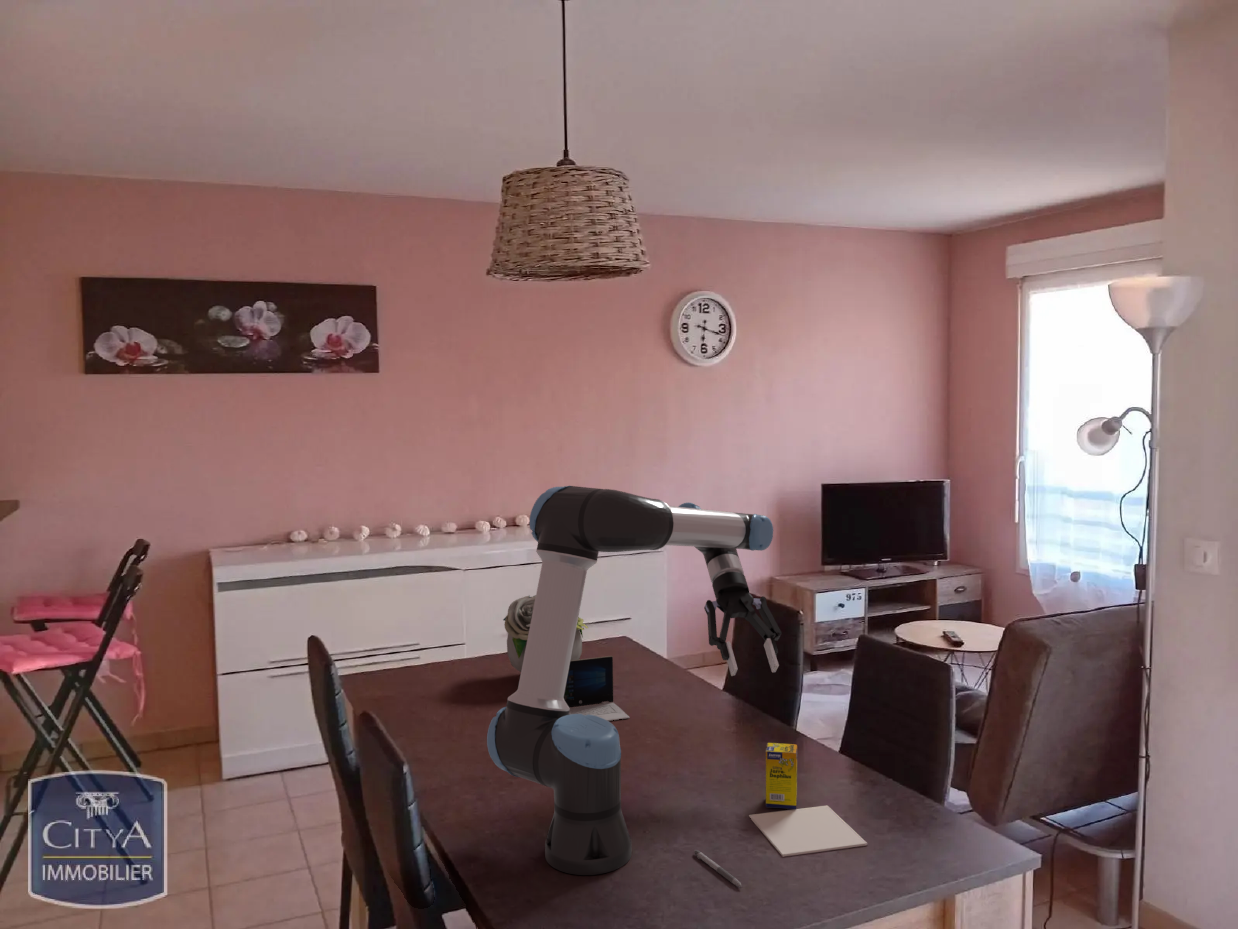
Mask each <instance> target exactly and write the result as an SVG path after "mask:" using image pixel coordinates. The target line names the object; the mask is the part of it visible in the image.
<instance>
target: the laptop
mask: <svg viewBox="0 0 1238 929" xmlns="http://www.w3.org/2000/svg"><path fill="white" fill-rule="evenodd" d="M564 700H565V702H566V703H567V705H568V707H569V708H570V710H569V715H570V714H582V715H594V716H598V717H600V718H603V719H605V720H607V721H609V722H613V720H614V721H620V720H619V719H622V720H628V719H630V716H629V715H628V714H627V713H626V711H624V710H623V709H622V708H621V707H619V705H617V704H616V703H615V702H614V657H613V656H612V655H607V656H600V657H599V656H597V657H591V658H589V657H587V658H580V659H579V660H571V661H570V665H569V670H568V676H567V681H566V687H565V692H564Z"/></svg>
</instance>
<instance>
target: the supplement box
mask: <svg viewBox="0 0 1238 929" xmlns="http://www.w3.org/2000/svg"><path fill="white" fill-rule="evenodd" d="M797 801H798V744H794V743H793V744H792V743H779V742H778V743H777V742H767V743H766V748H765V808H773V809H785V810H786V809H787V810H794V809H797Z"/></svg>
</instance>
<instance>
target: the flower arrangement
mask: <svg viewBox="0 0 1238 929" xmlns="http://www.w3.org/2000/svg"><path fill="white" fill-rule="evenodd" d="M535 598H536V594H535V595H533V596H531V595H530V594H528V595H527V596H522V597H519V598H517V599H515V600H514V601H512V602H511V603H510V604H509V606H508V609H507V614H506V615H505V617H504V618H503V619H502V620H503V621H504V629H505V631H506V633H507V637H506V638H507V639H506V650H507V656H508V659H509V662H510V664H511V666H512V667H513V668H515V670H517V671H518V672H519V673H521V671H522V665H523V660H524V655H525V650H526V645H527V639H528V634H529V629H530V624H531V619H532V614H533V608H534V603H535ZM584 627H585V628H584ZM585 629H589V627H588V625H586V624H585V623H584V619H583V618H581V617H580V616H578V622H577V627H576V633H575V638H574V643H573V649H572V654H571V660H580V659H581V656H582V653H583V639H584V636H583V631H584V630H585ZM571 660H570V661H571Z"/></svg>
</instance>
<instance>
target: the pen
mask: <svg viewBox="0 0 1238 929" xmlns="http://www.w3.org/2000/svg"><path fill="white" fill-rule="evenodd" d="M693 853H694V854H695V856H696V858H697V859H698V860H702V861H703V862H704V863H705V864H707V865H708V866H709V867H710V868H712V869H713V870H715V871H716V872H717V873H719V875H721V876H722V877H724V878H725V879H726V880H727V881H729V882H730V883H731V884H733V885H735V886H736V887H738V888H742V887H743V885H742V883H741V881H739V880H738V879H737V878H736V876H733V875H732V874H731V873H730V872H729V871H728V870H726V869H725V868H723V867H722V866H720V865H719V864H718V863H717V862H715V861H714V860H712V859H711V858H710V857H708V856H707V855H705V853H703V852H702V851H700V850H698V849H694V850H693Z"/></svg>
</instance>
